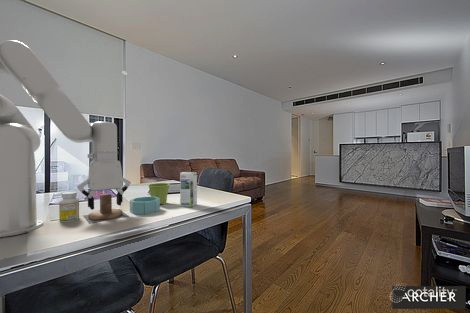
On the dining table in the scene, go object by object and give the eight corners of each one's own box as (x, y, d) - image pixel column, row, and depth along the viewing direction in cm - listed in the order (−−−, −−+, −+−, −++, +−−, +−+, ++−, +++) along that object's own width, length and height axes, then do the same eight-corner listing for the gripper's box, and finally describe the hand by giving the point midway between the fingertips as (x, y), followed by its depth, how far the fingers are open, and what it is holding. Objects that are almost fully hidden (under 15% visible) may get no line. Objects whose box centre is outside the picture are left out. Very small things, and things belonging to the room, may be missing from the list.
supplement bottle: (71, 223, 72) (71, 194, 72) (55, 223, 72) (54, 194, 72) (83, 218, 78) (82, 191, 77) (67, 218, 78) (67, 191, 77)
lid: (91, 222, 71) (91, 199, 71) (85, 215, 79) (85, 194, 79) (126, 216, 78) (125, 194, 78) (117, 210, 86) (117, 190, 86)
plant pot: (173, 201, 104) (173, 183, 104) (165, 206, 95) (164, 186, 95) (154, 201, 105) (154, 182, 105) (144, 206, 96) (143, 185, 96)
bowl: (136, 217, 79) (136, 203, 79) (127, 211, 86) (127, 199, 86) (163, 212, 86) (163, 199, 86) (152, 207, 93) (152, 195, 93)
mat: (89, 225, 70) (89, 223, 70) (82, 217, 79) (82, 215, 79) (129, 217, 78) (129, 216, 78) (119, 211, 87) (119, 209, 87)
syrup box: (179, 206, 94) (179, 172, 94) (185, 203, 100) (185, 171, 100) (192, 207, 93) (192, 172, 93) (197, 204, 99) (197, 171, 99)
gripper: (76, 157, 70) (77, 213, 70) (134, 157, 81) (135, 204, 82) (73, 157, 75) (74, 209, 76) (128, 156, 87) (128, 201, 87)
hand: (105, 206), depth 79 cm, fingers open, 7 cm apart
